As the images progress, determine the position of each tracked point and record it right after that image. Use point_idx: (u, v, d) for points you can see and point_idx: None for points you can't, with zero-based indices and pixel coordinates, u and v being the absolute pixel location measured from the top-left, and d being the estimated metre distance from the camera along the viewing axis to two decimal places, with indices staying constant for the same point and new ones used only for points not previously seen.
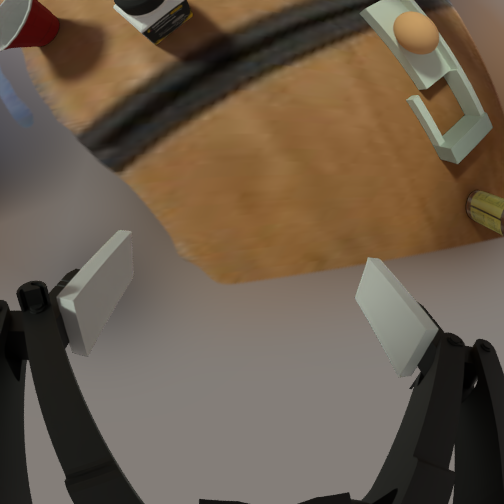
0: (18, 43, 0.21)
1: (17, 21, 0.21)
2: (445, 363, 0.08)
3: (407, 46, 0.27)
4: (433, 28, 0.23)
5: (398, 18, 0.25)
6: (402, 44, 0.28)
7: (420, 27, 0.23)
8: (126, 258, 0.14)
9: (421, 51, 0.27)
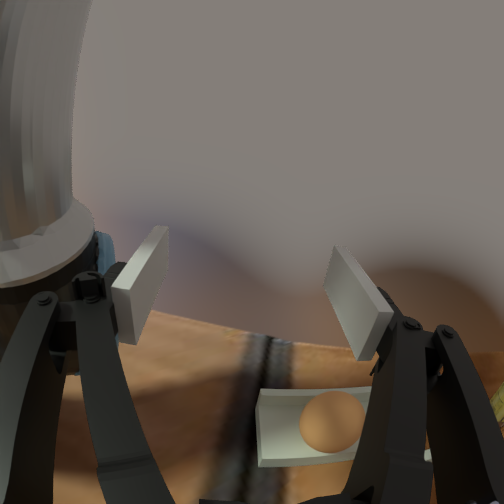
0: None
1: None
2: (404, 349, 0.09)
3: (347, 446, 0.22)
4: (345, 397, 0.25)
5: (307, 433, 0.23)
6: (339, 450, 0.23)
7: (340, 415, 0.23)
8: (164, 252, 0.15)
9: (361, 432, 0.23)
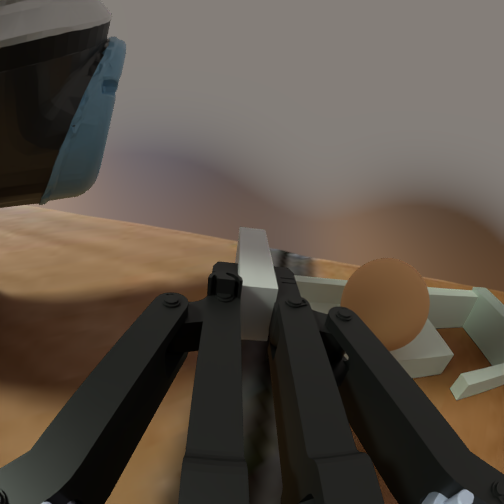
0: None
1: None
2: (294, 332, 0.09)
3: (413, 333, 0.17)
4: (400, 261, 0.19)
5: (357, 311, 0.18)
6: (403, 342, 0.17)
7: (401, 276, 0.17)
8: None
9: (427, 314, 0.18)
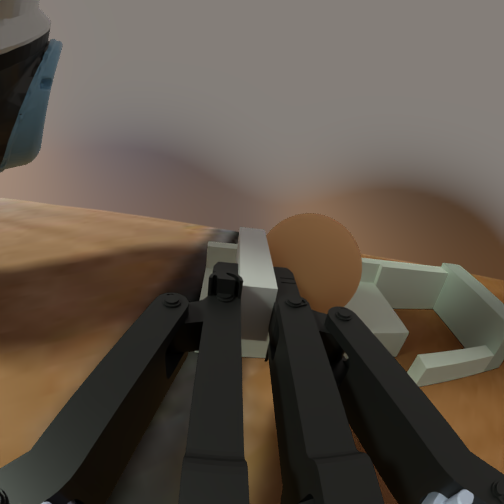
0: None
1: None
2: (294, 332, 0.09)
3: (336, 295, 0.16)
4: (323, 216, 0.18)
5: None
6: (324, 306, 0.16)
7: (316, 227, 0.16)
8: None
9: (358, 275, 0.17)
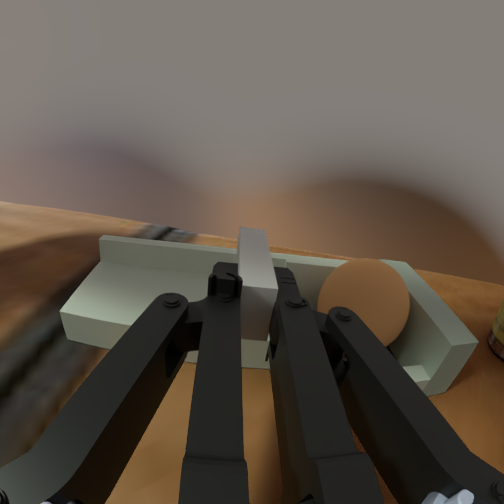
0: None
1: None
2: (294, 333, 0.09)
3: (381, 327, 0.17)
4: None
5: None
6: (391, 329, 0.17)
7: None
8: None
9: (362, 303, 0.17)
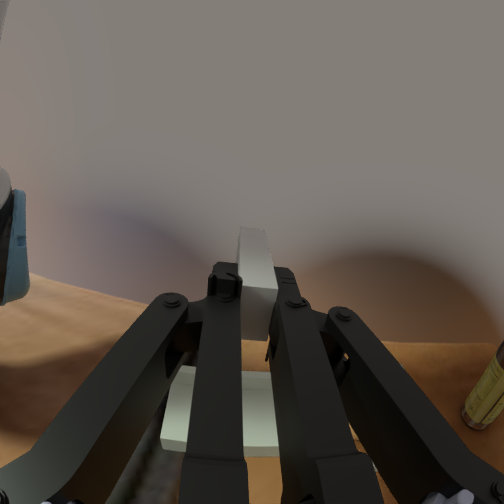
0: None
1: None
2: (294, 333, 0.09)
3: None
4: None
5: None
6: None
7: None
8: None
9: None
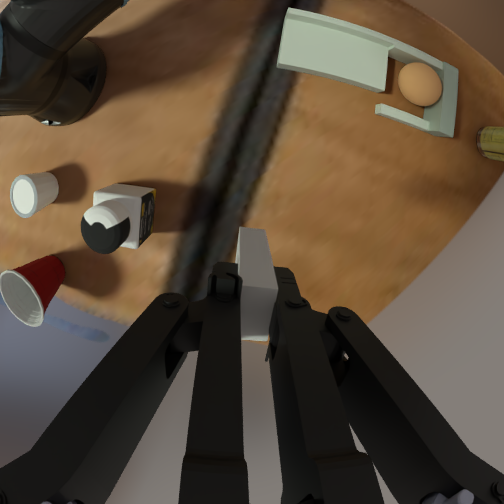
0: (47, 306, 0.38)
1: (24, 282, 0.40)
2: (294, 332, 0.09)
3: (418, 103, 0.32)
4: (399, 73, 0.32)
5: None
6: (423, 105, 0.32)
7: None
8: None
9: (415, 92, 0.31)
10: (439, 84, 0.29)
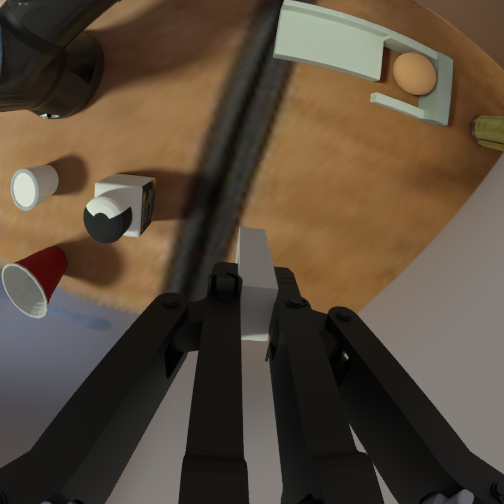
0: (50, 297, 0.39)
1: (27, 275, 0.41)
2: (294, 332, 0.09)
3: (413, 92, 0.32)
4: (394, 62, 0.32)
5: None
6: (417, 94, 0.33)
7: (394, 76, 0.34)
8: None
9: (410, 82, 0.31)
10: (434, 74, 0.29)
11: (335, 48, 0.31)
